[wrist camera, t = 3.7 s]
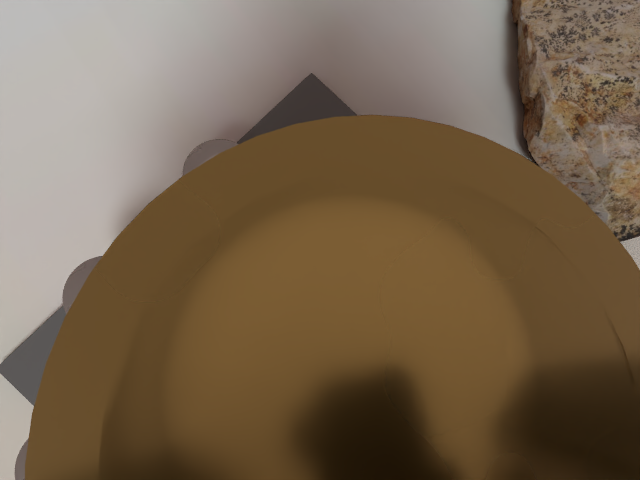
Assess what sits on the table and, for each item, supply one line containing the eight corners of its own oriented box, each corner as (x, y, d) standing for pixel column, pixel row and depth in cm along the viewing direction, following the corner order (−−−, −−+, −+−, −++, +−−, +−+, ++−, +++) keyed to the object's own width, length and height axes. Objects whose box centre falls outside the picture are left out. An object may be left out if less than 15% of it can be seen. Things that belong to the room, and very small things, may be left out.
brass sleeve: (382, 295, 16) (802, 402, 3) (313, 374, 15) (427, 1061, 2) (308, 226, 16) (366, 2, 3) (236, 300, 15) (-152, 480, 2)
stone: (749, 231, 17) (680, 211, 13) (604, 250, 23) (524, 241, 18) (651, -46, 21) (577, -126, 17) (551, 29, 27) (478, -17, 23)
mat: (561, 309, 20) (566, 310, 20) (299, 655, 16) (299, 664, 16) (311, 76, 20) (311, 72, 20) (2, 366, 17) (-5, 368, 16)
